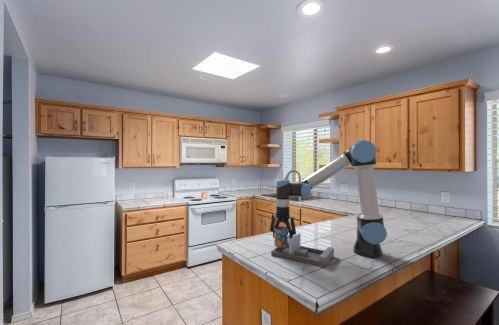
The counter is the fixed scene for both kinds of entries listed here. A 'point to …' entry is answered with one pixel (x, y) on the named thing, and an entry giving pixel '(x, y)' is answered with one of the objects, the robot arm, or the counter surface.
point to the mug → (281, 237)
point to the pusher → (296, 246)
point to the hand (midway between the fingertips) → (282, 244)
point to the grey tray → (313, 257)
